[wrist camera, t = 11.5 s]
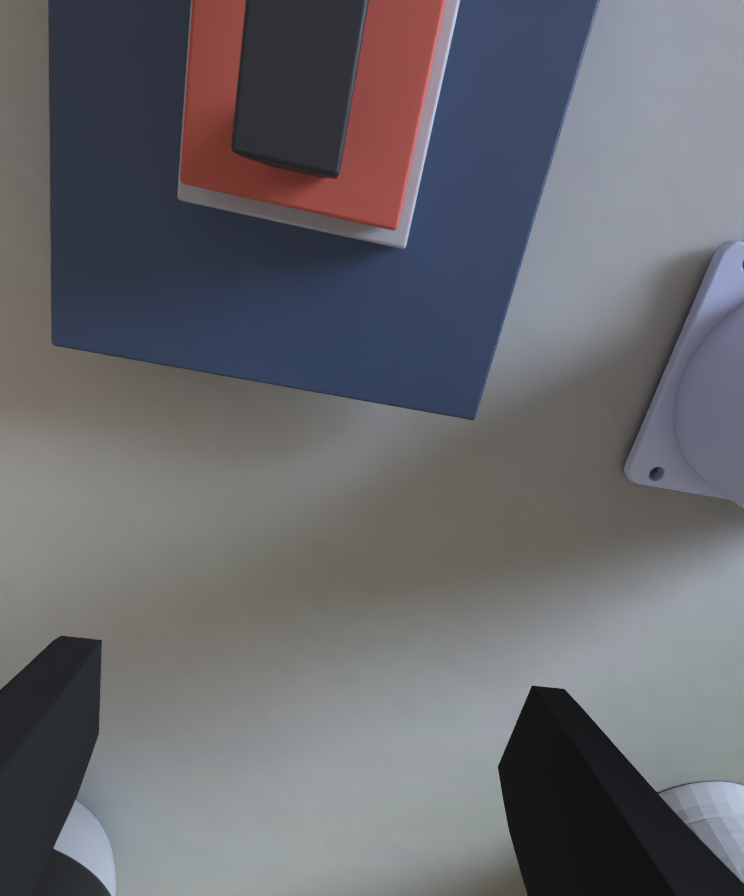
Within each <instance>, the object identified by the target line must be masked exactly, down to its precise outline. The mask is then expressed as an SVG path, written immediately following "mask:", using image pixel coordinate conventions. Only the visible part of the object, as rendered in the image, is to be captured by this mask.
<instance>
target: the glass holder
mask: <svg viewBox="0 0 744 896" xmlns="http://www.w3.org/2000/svg"><path fill="white" fill-rule="evenodd" d="M658 794H659V795H660V797H661V798H662V799H663V800H664V801H665V802H666V803H667V804H668V805H669V806H670V807H671V809H672V810H673V811H674V812H675V813H676V814H677V815H678V816H679V817H680V818H681V819H682V820H683V821H684V823H685V824H686V825H687V826H688V827H689V828H690V829H691V830H692V831H693V832H694V833H695V834H696V835H697V836H698V837H699V838H700V839H701V841H702V842H703V843H704V844H705V845H706V846H707V847H708V848H709V849H710V850H711V851H712V852H713V853H714V854H715V855H716V856H717V857H718V858H719V859H720V860H721V861H722V862H723V863H724V864H725V865H726V866H727V867H728V868H729V869H730V870H731V871H732V872H733V873H734V874H735V875H736V876H737V877H738V878H739V879H740V880H741V881H742V882H743V883H744V786H743V785H739V784H735V783H729V782H700V783H693V784H687V785H683V786H679V787H675V788H672V789H669V790H666V791H664V792H661V793H658Z"/></svg>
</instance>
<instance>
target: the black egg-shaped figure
mask: <svg viewBox="0 0 744 896" xmlns="http://www.w3.org/2000/svg"><path fill="white" fill-rule="evenodd" d="M115 890H116V874H115V864H114V858H113V852H112V849H111V846H110V843H109V840H108V838H107V835H106V833H105V831H104V829H103V828H102V826H101V824H100V823H99V821H98V820H97V819H96V818H95V816H94V815H93V814H92V813H91V812H90V811H89V810H88V809H87V808H86V807H85V806H83V805H82V804H81V803H80V802H78V801H77V800H75V802H74V805H73V807H72V809H71V811H70V813H69V815H68V818H67V820H66V822H65V824H64V826H63V828H62V831H61V833H60V835H59V837H58V839H57V841H56V843H55V846H54V848H53V850H52V852H51V854H50V856H49V858H48V861H47V863H46V865H45V867H44V869H43V871H42V873H41V876H40V878H39V880H38V882H37V884H36V886H35V888H34V890H33V892H32V895H31V896H115Z"/></svg>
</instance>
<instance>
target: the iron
mask: <svg viewBox="0 0 744 896" xmlns="http://www.w3.org/2000/svg"><path fill="white" fill-rule="evenodd" d="M459 4H460V0H191V7H190V21H189V35H188V50H187V64H186V78H185V93H184V107H183V121H182V136H181V150H180V164H179V179H178V193H177V196H178V199H179V200H181V201H184V202H189V203H193V204H198V205H203V206H207V207H212V208H216V209H221V210H225V211H230V212H235V213H239V214H244V215H248V216H253V217H257V218H262V219H267V220H271V221H276V222H280V223H285V224H289V225H294V226H299V227H303V228H308V229H312V230H317V231H322V232H326V233H331V234H335V235H340V236H344V237H349V238H354V239H358V240H363V241H367V242H372V243H376V244H381V245H386V246H390V247H395V248H399V249H404V248H405V247H406V244H407V240H408V235H409V231H410V226H411V222H412V217H413V213H414V208H415V204H416V199H417V195H418V190H419V185H420V181H421V176H422V172H423V167H424V163H425V158H426V154H427V149H428V145H429V140H430V135H431V131H432V126H433V122H434V117H435V113H436V108H437V104H438V99H439V95H440V90H441V86H442V81H443V76H444V72H445V67H446V63H447V58H448V54H449V49H450V45H451V40H452V36H453V31H454V26H455V22H456V17H457V13H458V8H459Z"/></svg>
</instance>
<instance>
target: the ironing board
mask: <svg viewBox="0 0 744 896" xmlns="http://www.w3.org/2000/svg"><path fill="white" fill-rule="evenodd" d="M599 1H600V0H460V4H459V8H458V13H457V17H456V22H455V26H454V31H453V36H452V40H451V45H450V49H449V54H448V58H447V63H446V67H445V72H444V76H443V81H442V86H441V90H440V95H439V99H438V104H437V108H436V113H435V117H434V122H433V126H432V131H431V135H430V140H429V145H428V149H427V154H426V158H425V163H424V167H423V172H422V176H421V181H420V185H419V190H418V195H417V199H416V204H415V208H414V213H413V217H412V222H411V226H410V231H409V235H408V240H407V244H406V247H405V248H404V249H399V248H395V247H390V246H386V245H381V244H376V243H372V242H367V241H363V240H358V239H354V238H349V237H344V236H340V235H335V234H331V233H326V232H322V231H317V230H312V229H308V228H303V227H299V226H294V225H289V224H285V223H280V222H276V221H271V220H267V219H262V218H257V217H253V216H248V215H244V214H239V213H235V212H230V211H225V210H221V209H216V208H212V207H207V206H203V205H198V204H193V203H189V202H184V201H181V200H179V199H178V196H177V193H178V179H179V164H180V150H181V136H182V121H183V107H184V93H185V78H186V64H187V50H188V35H189V21H190V7H191V0H48V9H49V112H50V214H51V316H52V344H53V345H55V346H59V347H65V348H71V349H76V350H82V351H88V352H93V353H99V354H104V355H110V356H116V357H121V358H127V359H132V360H138V361H144V362H149V363H155V364H160V365H166V366H172V367H177V368H183V369H189V370H194V371H200V372H205V373H211V374H217V375H222V376H228V377H233V378H239V379H245V380H250V381H256V382H261V383H267V384H273V385H278V386H284V387H290V388H295V389H301V390H306V391H312V392H318V393H323V394H329V395H334V396H340V397H346V398H351V399H357V400H362V401H368V402H374V403H379V404H385V405H391V406H396V407H402V408H407V409H413V410H419V411H424V412H430V413H435V414H441V415H447V416H452V417H458V418H463V419H469V420H474V419H475V417H476V413H477V410H478V407H479V403H480V400H481V397H482V393H483V390H484V387H485V383H486V380H487V377H488V373H489V370H490V366H491V363H492V360H493V356H494V353H495V350H496V346H497V343H498V340H499V336H500V333H501V330H502V326H503V323H504V320H505V316H506V313H507V309H508V306H509V303H510V299H511V296H512V293H513V289H514V286H515V283H516V279H517V276H518V273H519V269H520V266H521V262H522V259H523V256H524V252H525V249H526V246H527V242H528V239H529V236H530V232H531V229H532V226H533V222H534V219H535V216H536V212H537V209H538V205H539V202H540V199H541V195H542V192H543V189H544V185H545V182H546V179H547V175H548V172H549V169H550V165H551V162H552V159H553V155H554V152H555V148H556V145H557V142H558V138H559V135H560V132H561V128H562V125H563V122H564V118H565V115H566V112H567V108H568V105H569V102H570V98H571V95H572V91H573V88H574V85H575V81H576V78H577V75H578V71H579V68H580V65H581V61H582V58H583V55H584V51H585V48H586V44H587V41H588V38H589V34H590V31H591V28H592V24H593V21H594V18H595V14H596V11H597V8H598V4H599Z"/></svg>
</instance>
